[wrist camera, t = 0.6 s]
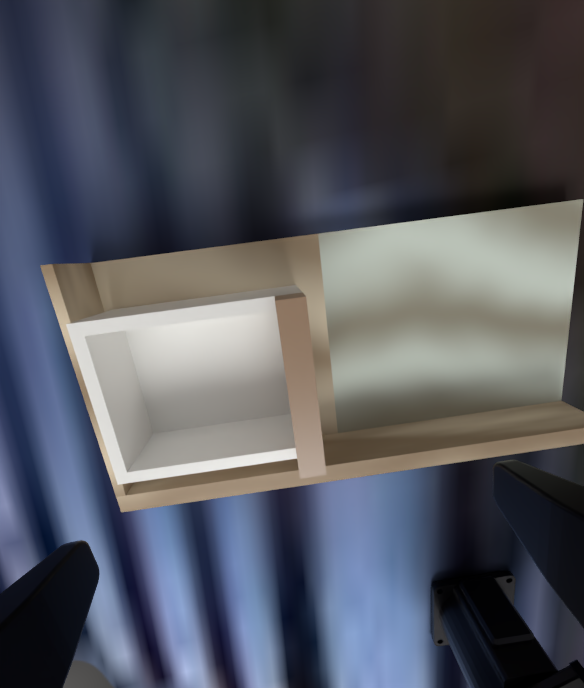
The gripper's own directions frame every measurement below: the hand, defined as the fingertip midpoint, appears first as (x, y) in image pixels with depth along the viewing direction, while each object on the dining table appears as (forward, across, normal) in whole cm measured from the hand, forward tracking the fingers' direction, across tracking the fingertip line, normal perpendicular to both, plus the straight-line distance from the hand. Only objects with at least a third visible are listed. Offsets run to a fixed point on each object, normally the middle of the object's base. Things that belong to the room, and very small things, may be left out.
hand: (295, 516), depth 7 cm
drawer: (+12, +4, 0) cm, 12 cm away
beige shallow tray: (+13, -4, 0) cm, 13 cm away
